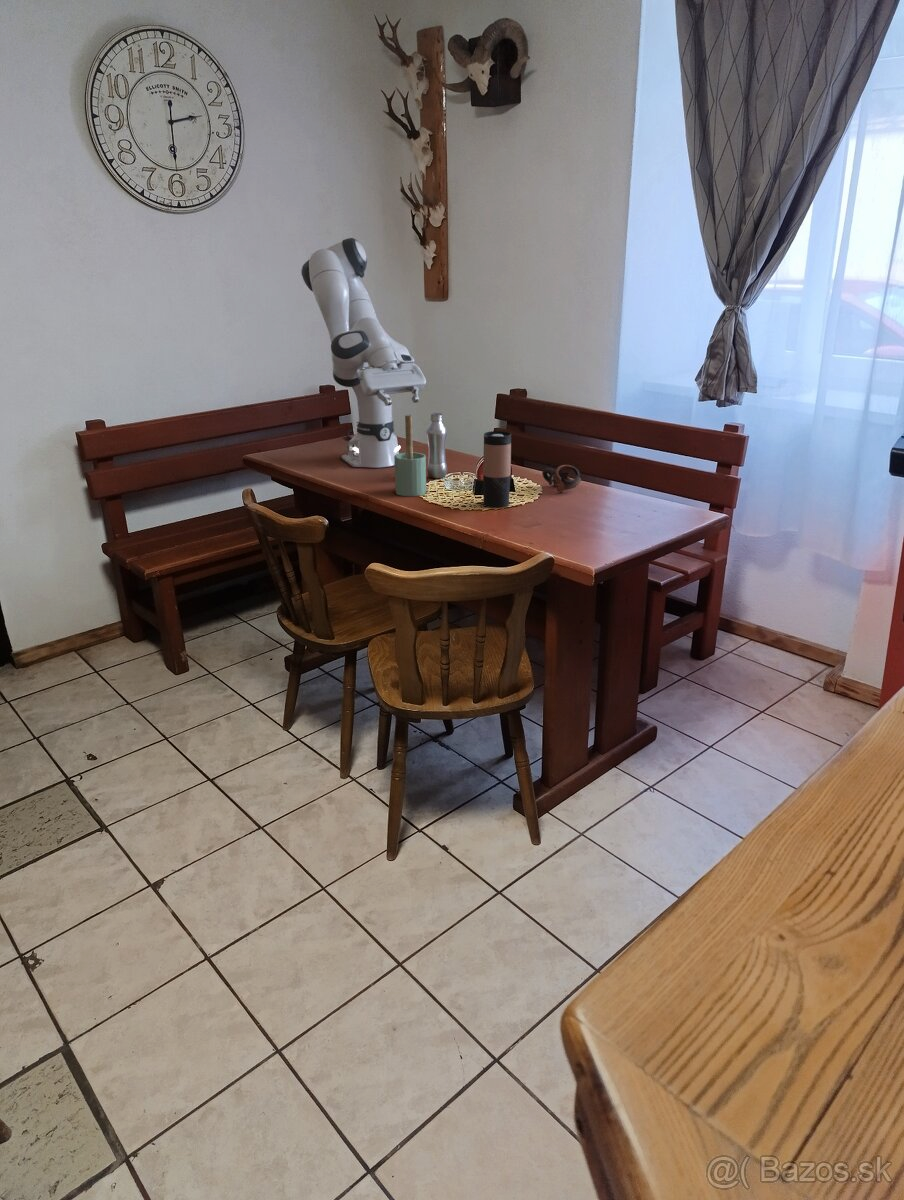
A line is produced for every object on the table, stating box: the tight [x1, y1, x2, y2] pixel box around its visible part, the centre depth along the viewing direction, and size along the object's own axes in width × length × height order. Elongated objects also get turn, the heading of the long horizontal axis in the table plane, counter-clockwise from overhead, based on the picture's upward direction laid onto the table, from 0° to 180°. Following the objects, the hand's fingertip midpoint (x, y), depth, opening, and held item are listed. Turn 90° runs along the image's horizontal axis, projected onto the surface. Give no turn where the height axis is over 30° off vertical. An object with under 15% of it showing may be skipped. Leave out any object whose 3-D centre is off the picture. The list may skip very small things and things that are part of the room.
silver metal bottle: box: [426, 412, 448, 479], centre depth 255 cm, size 6×7×20 cm
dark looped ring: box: [541, 464, 582, 494], centre depth 244 cm, size 12×10×8 cm
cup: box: [393, 451, 427, 497], centre depth 240 cm, size 9×9×11 cm
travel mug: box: [482, 430, 512, 509], centre depth 226 cm, size 8×8×20 cm
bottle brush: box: [404, 414, 414, 459], centre depth 238 cm, size 5×5×22 cm
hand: (403, 402), depth 238 cm, fingers open, 8 cm apart
